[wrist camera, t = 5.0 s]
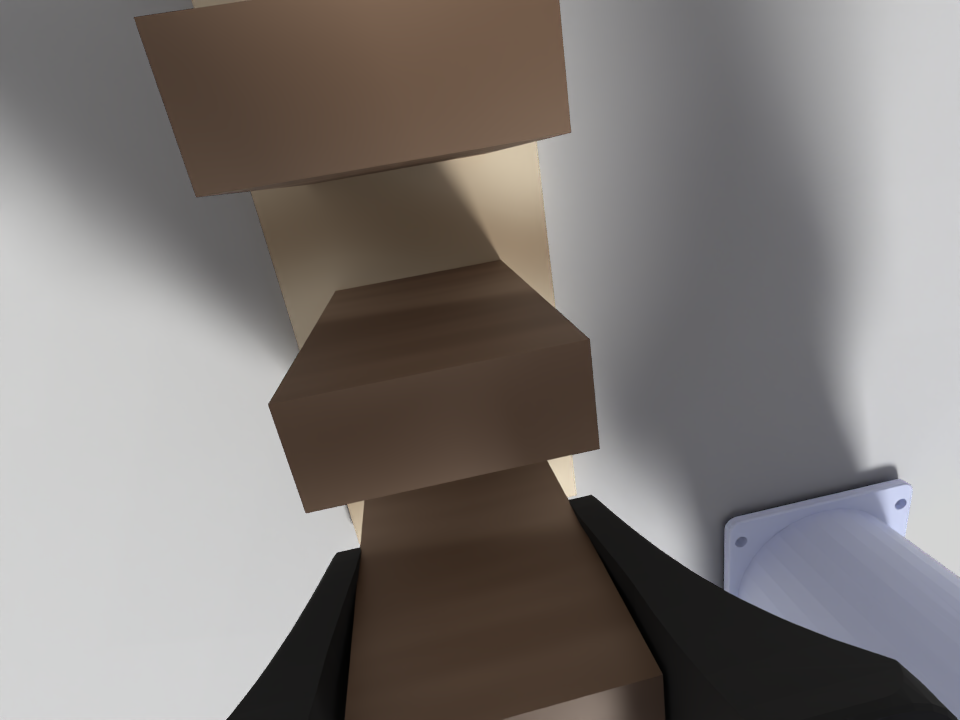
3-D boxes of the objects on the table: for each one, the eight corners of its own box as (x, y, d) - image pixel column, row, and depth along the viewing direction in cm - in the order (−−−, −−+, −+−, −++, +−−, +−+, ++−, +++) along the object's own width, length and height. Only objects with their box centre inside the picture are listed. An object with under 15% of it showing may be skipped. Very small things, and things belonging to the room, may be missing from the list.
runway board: (571, 485, 19) (577, 496, 19) (360, 533, 19) (359, 546, 18) (490, -214, 12) (495, -236, 12) (146, -171, 12) (130, -192, 11)
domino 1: (484, 153, 14) (570, 132, 7) (306, 185, 14) (196, 197, 7) (473, 74, 14) (554, -46, 6) (284, 104, 13) (133, 16, 6)
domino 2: (510, 322, 16) (599, 449, 9) (352, 353, 16) (305, 513, 8) (500, 259, 15) (589, 339, 8) (335, 291, 15) (267, 404, 8)
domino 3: (540, 489, 16) (667, 757, 9) (382, 526, 16) (373, 844, 8) (532, 433, 15) (662, 674, 8) (367, 471, 15) (340, 764, 8)
